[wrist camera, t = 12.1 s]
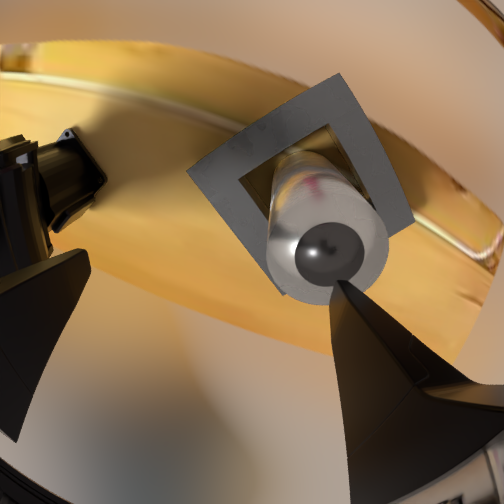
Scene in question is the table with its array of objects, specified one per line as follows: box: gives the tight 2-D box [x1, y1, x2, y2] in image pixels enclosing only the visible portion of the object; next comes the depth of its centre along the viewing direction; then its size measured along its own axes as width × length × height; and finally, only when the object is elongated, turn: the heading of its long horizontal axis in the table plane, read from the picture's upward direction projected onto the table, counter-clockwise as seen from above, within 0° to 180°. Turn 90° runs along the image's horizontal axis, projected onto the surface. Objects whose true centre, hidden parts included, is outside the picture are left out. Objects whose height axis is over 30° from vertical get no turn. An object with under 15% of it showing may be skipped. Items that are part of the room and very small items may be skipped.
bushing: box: [266, 151, 389, 305], centre depth 16 cm, size 5×5×11 cm
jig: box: [186, 73, 415, 296], centre depth 19 cm, size 12×12×2 cm
